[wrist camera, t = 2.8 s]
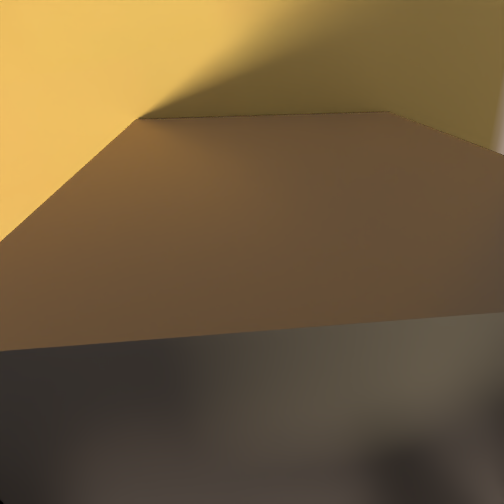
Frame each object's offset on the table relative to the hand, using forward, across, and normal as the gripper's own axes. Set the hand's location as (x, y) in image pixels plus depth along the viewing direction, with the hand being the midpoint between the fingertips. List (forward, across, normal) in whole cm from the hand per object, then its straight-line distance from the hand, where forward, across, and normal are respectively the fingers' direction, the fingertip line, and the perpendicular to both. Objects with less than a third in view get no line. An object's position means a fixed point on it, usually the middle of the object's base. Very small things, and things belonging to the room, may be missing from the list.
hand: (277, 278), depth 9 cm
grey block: (+3, 0, 0) cm, 3 cm away
